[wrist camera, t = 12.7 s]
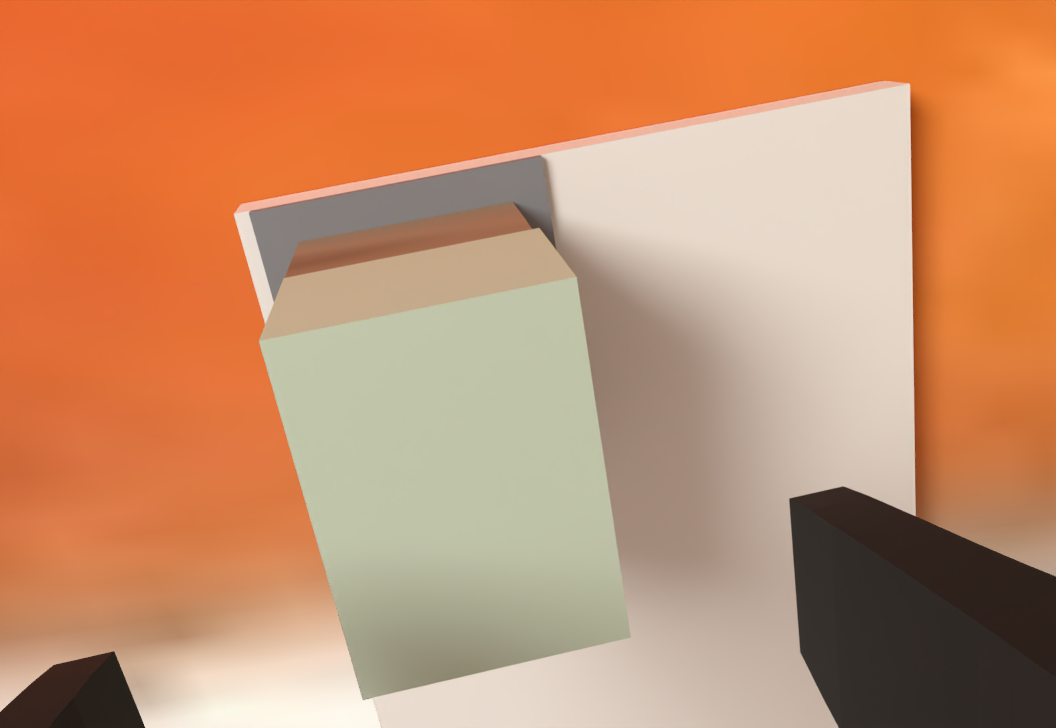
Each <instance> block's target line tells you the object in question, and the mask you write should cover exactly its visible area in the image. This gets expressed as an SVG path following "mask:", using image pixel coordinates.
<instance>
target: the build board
mask: <svg viewBox="0 0 1056 728" xmlns="http://www.w3.org/2000/svg"><path fill="white" fill-rule="evenodd" d="M508 202H513V203H514V204H515V206H516V207H517V208H518V210H519V211H520V213H521V214H522V215H523V217H524V218H525V220H526V221H527V222H528V224H529V225H530V227H531V228H532V229H536V228H540V229H541V231H542V232H543V233H544V235H545V236H546V237H547V239H548V240H549V241H550V242H551V244H552V245H553V246H554V248H555V249H556V250H557V252H558V253H559V254H560V256H561V257H562V258H563V260H564V261H565V262H566V264H567V265H568V266H569V268H570V269H571V270H572V272H573V273H574V274H575V276H576V277H577V283H578V289H579V296H580V303H581V309H582V316H583V323H584V329H585V336H586V343H587V349H588V356H589V363H590V369H591V376H592V383H593V389H594V396H595V403H596V409H597V416H598V423H599V429H600V436H601V442H602V449H603V456H604V462H605V469H606V476H607V482H608V489H609V496H610V502H611V509H612V516H613V522H614V529H615V536H616V542H617V549H618V556H619V562H620V569H621V576H622V582H623V589H624V595H625V602H626V609H627V615H628V622H629V629H630V635H631V638H627V639H622V640H618V641H614V642H609V643H605V644H601V645H597V646H592V647H588V648H584V649H580V650H575V651H571V652H567V653H562V654H558V655H554V656H550V657H545V658H541V659H537V660H532V661H528V662H524V663H520V664H515V665H511V666H507V667H502V668H498V669H494V670H490V671H485V672H481V673H477V674H472V675H468V676H464V677H460V678H455V679H451V680H447V681H442V682H438V683H434V684H430V685H425V686H421V687H417V688H412V689H408V690H404V691H400V692H395V693H391V694H387V695H382V696H378V697H374V698H373V701H374V705H375V708H376V711H377V715H378V718H379V722H380V725H381V728H839V727H838V725H837V724H836V722H835V720H834V718H833V716H832V714H831V712H830V710H829V708H828V707H827V705H826V703H825V701H824V699H823V697H822V695H821V693H820V691H819V689H818V687H817V685H816V683H815V681H814V679H813V677H812V675H811V673H810V671H809V669H808V667H807V665H806V663H805V661H804V659H803V657H802V655H801V653H800V643H799V629H798V615H797V601H796V587H795V573H794V560H793V546H792V532H791V518H790V504H789V498H793V497H798V496H802V495H807V494H811V493H816V492H820V491H824V490H829V489H833V488H838V487H842V486H844V487H847V488H849V489H852V490H855V491H857V492H860V493H863V494H865V495H868V496H870V497H872V498H875V499H877V500H879V501H882V502H884V503H886V504H889V505H891V506H893V507H896V508H898V509H900V510H902V511H905V512H907V513H909V514H911V515H914V516H916V506H915V430H914V353H913V276H912V199H911V122H910V84H908V83H899V82H890V81H880V82H875V83H869V84H864V85H859V86H854V87H849V88H843V89H838V90H833V91H828V92H823V93H817V94H812V95H807V96H802V97H796V98H791V99H786V100H781V101H776V102H770V103H765V104H760V105H755V106H750V107H744V108H739V109H734V110H729V111H723V112H718V113H713V114H708V115H703V116H697V117H692V118H687V119H682V120H677V121H671V122H666V123H661V124H656V125H650V126H645V127H640V128H635V129H630V130H624V131H619V132H614V133H609V134H604V135H598V136H593V137H588V138H583V139H577V140H572V141H567V142H562V143H557V144H551V145H546V146H541V147H536V148H531V149H525V150H520V151H515V152H510V153H504V154H499V155H494V156H489V157H484V158H478V159H473V160H468V161H463V162H458V163H452V164H447V165H442V166H437V167H431V168H426V169H421V170H416V171H411V172H405V173H400V174H395V175H390V176H385V177H379V178H374V179H369V180H364V181H358V182H353V183H348V184H343V185H338V186H332V187H327V188H322V189H317V190H312V191H306V192H301V193H296V194H291V195H285V196H280V197H275V198H270V199H265V200H259V201H254V202H249V203H244V204H241V205H240V207H239V208H238V209H237V210H236V212H235V213H234V217H235V220H236V224H237V227H238V231H239V234H240V238H241V241H242V245H243V248H244V252H245V255H246V259H247V262H248V266H249V269H250V273H251V276H252V280H253V283H254V287H255V290H256V293H257V297H258V300H259V304H260V307H261V311H262V314H263V318H264V321H265V324H266V322H267V319H268V317H269V314H270V312H271V309H272V307H273V304H274V301H275V299H276V296H277V294H278V291H279V289H280V286H281V284H282V281H283V279H284V278H285V276H286V273H287V271H288V268H289V265H290V263H291V260H292V258H293V255H294V253H295V250H296V248H297V245H298V242H300V241H305V240H310V239H316V238H321V237H326V236H332V235H337V234H342V233H348V232H353V231H359V230H364V229H369V228H375V227H380V226H385V225H391V224H396V223H401V222H407V221H412V220H417V219H423V218H428V217H433V216H439V215H444V214H449V213H455V212H460V211H465V210H471V209H476V208H481V207H487V206H492V205H497V204H503V203H508Z"/></svg>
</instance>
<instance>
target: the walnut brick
mask: <svg viewBox="0 0 1056 728" xmlns="http://www.w3.org/2000/svg"><path fill="white" fill-rule="evenodd" d="M531 229H532V228H531V227H530V225H529V224H528V222H527V221H526V220H525V218H524V217H523V215H522V214H521V213H520V211H519V210H518V208H517V207H516V206H515V204H514V203H513V202H508V203H503V204H497V205H492V206H487V207H481V208H476V209H471V210H465V211H460V212H455V213H449V214H444V215H439V216H433V217H428V218H423V219H417V220H412V221H407V222H401V223H396V224H391V225H385V226H380V227H375V228H369V229H364V230H359V231H353V232H348V233H342V234H337V235H332V236H326V237H321V238H316V239H310V240H305V241H300V242H298V245H297V248H296V250H295V253H294V255H293V258H292V260H291V263H290V265H289V268H288V271H287V273H286V276H285V278H287V277H292V276H297V275H302V274H307V273H312V272H317V271H323V270H328V269H333V268H338V267H343V266H348V265H353V264H358V263H363V262H368V261H373V260H378V259H384V258H389V257H394V256H399V255H404V254H409V253H414V252H419V251H424V250H429V249H434V248H440V247H445V246H450V245H455V244H460V243H465V242H470V241H475V240H480V239H485V238H490V237H495V236H501V235H506V234H511V233H516V232H521V231H526V230H531Z"/></svg>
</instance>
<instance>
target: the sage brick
mask: <svg viewBox="0 0 1056 728" xmlns="http://www.w3.org/2000/svg"><path fill="white" fill-rule="evenodd" d="M259 343H260V347H261V350H262V353H263V357H264V360H265V364H266V367H267V371H268V374H269V378H270V381H271V385H272V388H273V391H274V395H275V398H276V402H277V405H278V409H279V412H280V416H281V419H282V423H283V426H284V429H285V433H286V436H287V440H288V443H289V447H290V450H291V454H292V457H293V460H294V464H295V467H296V471H297V474H298V478H299V481H300V485H301V488H302V492H303V495H304V498H305V502H306V505H307V509H308V512H309V516H310V519H311V523H312V526H313V530H314V533H315V536H316V540H317V543H318V547H319V550H320V554H321V557H322V561H323V564H324V567H325V571H326V574H327V578H328V581H329V585H330V588H331V592H332V595H333V599H334V602H335V605H336V609H337V612H338V616H339V619H340V623H341V626H342V630H343V633H344V637H345V640H346V643H347V647H348V650H349V654H350V657H351V661H352V664H353V668H354V671H355V675H356V678H357V681H358V685H359V688H360V692H361V695H362V699H363V700H365V699H370V698H374V697H378V696H382V695H387V694H391V693H395V692H400V691H404V690H408V689H412V688H417V687H421V686H425V685H430V684H434V683H438V682H442V681H447V680H451V679H455V678H460V677H464V676H468V675H472V674H477V673H481V672H485V671H490V670H494V669H498V668H502V667H507V666H511V665H515V664H520V663H524V662H528V661H532V660H537V659H541V658H545V657H550V656H554V655H558V654H562V653H567V652H571V651H575V650H580V649H584V648H588V647H592V646H597V645H601V644H605V643H609V642H614V641H618V640H622V639H627V638H631V635H630V629H629V622H628V615H627V609H626V602H625V595H624V589H623V582H622V576H621V569H620V562H619V556H618V549H617V542H616V536H615V529H614V522H613V516H612V509H611V502H610V496H609V489H608V482H607V476H606V469H605V462H604V456H603V449H602V442H601V436H600V429H599V423H598V416H597V409H596V403H595V396H594V389H593V383H592V376H591V369H590V363H589V356H588V349H587V343H586V336H585V329H584V323H583V316H582V309H581V303H580V296H579V289H578V283H577V277H576V276H575V274H574V273H573V272H572V270H571V269H570V268H569V266H568V265H567V264H566V262H565V261H564V260H563V258H562V257H561V256H560V254H559V253H558V252H557V250H556V249H555V248H554V246H553V245H552V244H551V242H550V241H549V240H548V239H547V237H546V236H545V235H544V233H543V232H542V231H541V229H540V228H536V229H531V230H526V231H521V232H516V233H511V234H506V235H501V236H495V237H490V238H485V239H480V240H475V241H470V242H465V243H460V244H455V245H450V246H445V247H440V248H434V249H429V250H424V251H419V252H414V253H409V254H404V255H399V256H394V257H389V258H384V259H378V260H373V261H368V262H363V263H358V264H353V265H348V266H343V267H338V268H333V269H328V270H323V271H317V272H312V273H307V274H302V275H297V276H292V277H287V278H284V279H283V281H282V284H281V286H280V289H279V291H278V294H277V296H276V299H275V301H274V304H273V307H272V309H271V312H270V314H269V317H268V319H267V322H266V324H265V327H264V329H263V332H262V334H261V337H260V339H259Z"/></svg>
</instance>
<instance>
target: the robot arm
mask: <svg viewBox="0 0 1056 728" xmlns="http://www.w3.org/2000/svg"><path fill="white" fill-rule="evenodd" d="M789 504H790V518H791V532H792V546H793V560H794V573H795V587H796V601H797V615H798V629H799V643H800V653H801V655H802V657H803V659H804V661H805V663H806V665H807V667H808V669H809V671H810V673H811V675H812V677H813V679H814V681H815V683H816V685H817V687H818V689H819V691H820V693H821V695H822V697H823V699H824V701H825V703H826V705H827V707H828V708H829V710H830V712H831V714H832V716H833V718H834V720H835V722H836V724H837V725H838V727H839V728H1056V577H1055V576H1053V575H1050V574H1048V573H1045V572H1043V571H1040V570H1038V569H1035V568H1033V567H1031V566H1028V565H1026V564H1023V563H1021V562H1019V561H1016V560H1014V559H1011V558H1009V557H1007V556H1004V555H1002V554H1000V553H997V552H995V551H993V550H990V549H988V548H986V547H984V546H981V545H979V544H977V543H974V542H972V541H970V540H968V539H965V538H963V537H961V536H958V535H956V534H954V533H952V532H949V531H947V530H945V529H943V528H940V527H938V526H936V525H934V524H931V523H929V522H927V521H925V520H923V519H920V518H918V517H916V516H914V515H911V514H909V513H907V512H905V511H902V510H900V509H898V508H896V507H893V506H891V505H889V504H886V503H884V502H882V501H879V500H877V499H875V498H872V497H870V496H868V495H865V494H863V493H860V492H857V491H855V490H852V489H849V488H847V487H844V486H842V487H838V488H833V489H829V490H824V491H820V492H816V493H811V494H807V495H802V496H798V497H793V498H789ZM0 728H145V726H144V724H143V721H142V719H141V716H140V714H139V711H138V709H137V706H136V704H135V702H134V699H133V697H132V694H131V692H130V689H129V687H128V684H127V682H126V679H125V677H124V674H123V672H122V670H121V667H120V665H119V662H118V660H117V657H116V655H115V652H109V653H105V654H101V655H96V656H92V657H87V658H83V659H78V660H74V661H70V662H65V663H61V664H56V665H53V666H52V667H51V668H50V669H48V670H47V671H46V672H45V673H43V674H42V675H41V676H40V677H39V678H37V679H36V680H35V681H34V682H33V683H31V684H30V685H29V686H28V687H27V688H26V689H25V690H24V691H22V692H21V693H20V694H19V695H18V696H17V697H16V698H15V699H14V700H13V701H12V702H10V703H9V704H8V705H7V706H6V707H5V708H4V709H3V710H2V711H1V712H0Z"/></svg>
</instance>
